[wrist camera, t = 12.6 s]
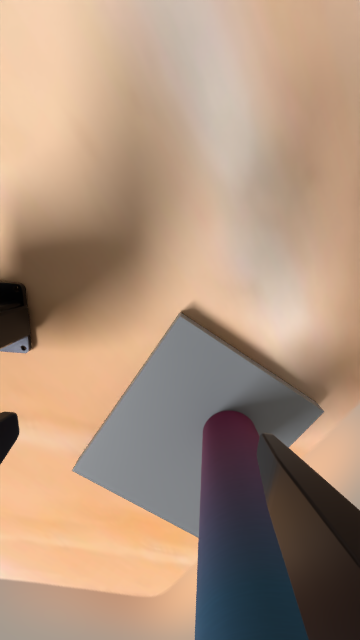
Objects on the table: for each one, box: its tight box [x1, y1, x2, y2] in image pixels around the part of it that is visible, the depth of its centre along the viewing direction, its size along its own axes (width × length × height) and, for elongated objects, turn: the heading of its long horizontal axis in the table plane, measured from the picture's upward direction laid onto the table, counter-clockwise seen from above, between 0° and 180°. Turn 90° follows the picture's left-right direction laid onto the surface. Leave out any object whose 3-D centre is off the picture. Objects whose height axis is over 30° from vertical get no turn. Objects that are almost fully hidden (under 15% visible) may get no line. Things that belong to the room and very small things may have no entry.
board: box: [72, 312, 324, 538], centre depth 23 cm, size 20×16×2 cm
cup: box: [195, 411, 309, 640], centre depth 14 cm, size 7×7×15 cm
